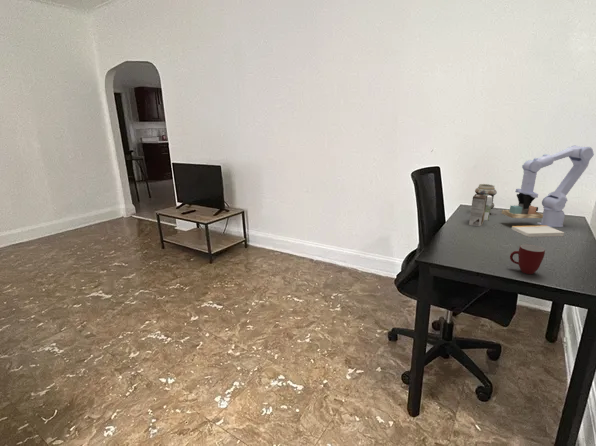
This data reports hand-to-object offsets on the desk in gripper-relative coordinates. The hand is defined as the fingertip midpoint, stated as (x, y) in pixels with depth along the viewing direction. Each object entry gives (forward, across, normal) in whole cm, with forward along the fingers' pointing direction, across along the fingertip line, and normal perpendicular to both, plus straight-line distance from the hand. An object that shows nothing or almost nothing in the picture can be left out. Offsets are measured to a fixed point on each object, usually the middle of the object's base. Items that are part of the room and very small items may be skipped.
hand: (523, 207), depth 186 cm
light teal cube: (+3, 0, -4) cm, 5 cm away
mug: (+10, +57, -39) cm, 70 cm away
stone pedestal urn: (+10, -26, -6) cm, 29 cm away
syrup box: (+10, -13, -14) cm, 22 cm away
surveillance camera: (+10, -18, +18) cm, 28 cm away
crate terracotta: (+3, 0, +4) cm, 5 cm away
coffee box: (+10, -5, -22) cm, 25 cm away
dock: (+10, +13, 0) cm, 16 cm away
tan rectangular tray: (+4, 0, 0) cm, 4 cm away
